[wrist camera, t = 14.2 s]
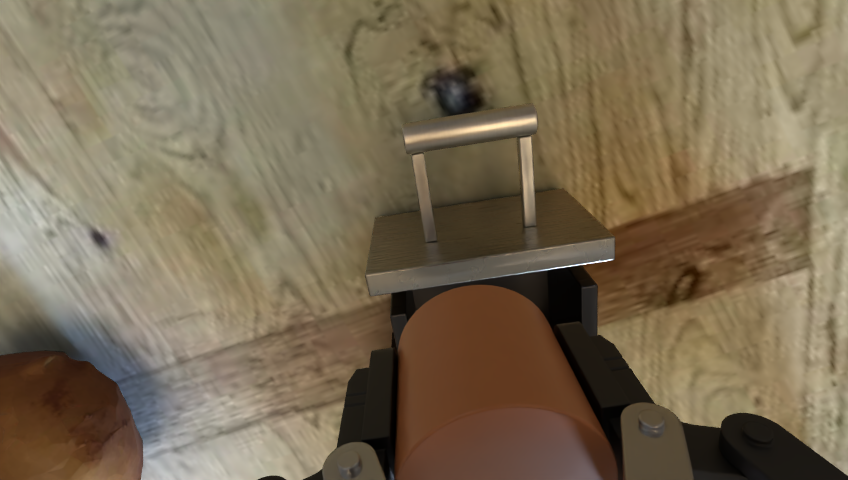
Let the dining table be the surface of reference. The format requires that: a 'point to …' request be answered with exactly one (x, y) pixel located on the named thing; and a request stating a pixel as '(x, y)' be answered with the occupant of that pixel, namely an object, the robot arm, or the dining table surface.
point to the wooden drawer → (488, 232)
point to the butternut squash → (64, 421)
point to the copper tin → (491, 395)
